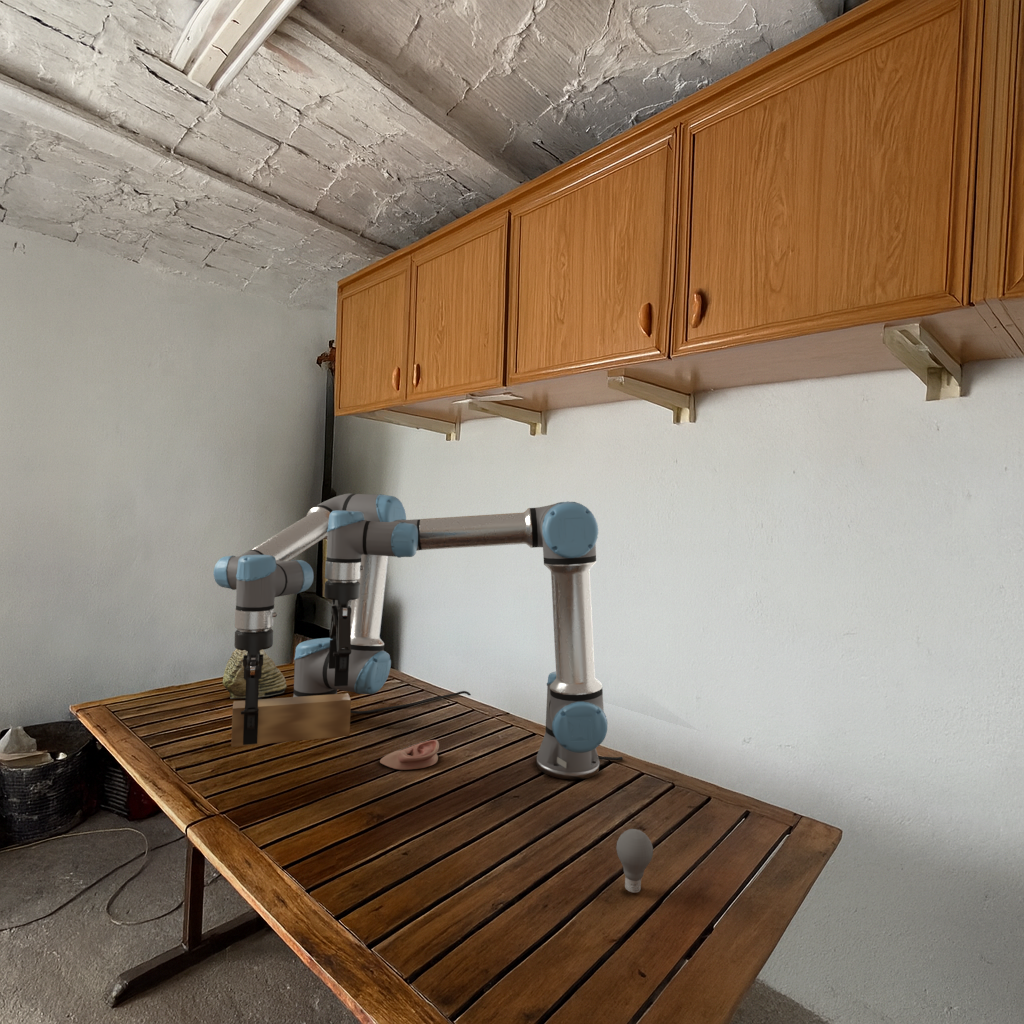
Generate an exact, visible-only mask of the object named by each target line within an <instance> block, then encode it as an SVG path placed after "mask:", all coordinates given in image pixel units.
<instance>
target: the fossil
mask: <svg viewBox="0 0 1024 1024" xmlns="http://www.w3.org/2000/svg"><path fill="white" fill-rule="evenodd" d="M247 652H248V651H246V650H243V651H242V650H238V649H236V648H235V650H233V651H232V653H231V656H230V657H229V659H228V660H227V663H226V666H225V668H224V671H223V675H222V676H223V677H222V685H223V687H224V688H225V690H226V691H228V693H229V698H230V699H245V694H246V680H245V679H244V666H243V656H244V655H247ZM260 654H263V665H262V675H261V678H260V679H259V689H258V692H259V695H258V697H262V698H264V697H271V696H275V695H281V694H284V693H285V691H286V689H287V687H288V686H287V680H286V678H285V676H284V674H283V673H282V672H281V669H279V668H278V667H277V665H276V663H275V662H274V660H273V659H272V658H271V657H270V656H269V655H268V654H267V653H266V652H265V650H263V649H262V650H260Z"/></svg>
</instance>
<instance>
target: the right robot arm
mask: <svg viewBox="0 0 1024 1024" xmlns="http://www.w3.org/2000/svg"><path fill="white" fill-rule="evenodd" d="M598 535H599V525H598V521H597V519H596V517H595V515H594V514H593V512H592V511H591V510H590V509H589V508H588V507H587V506H585V505H584V504H582V503H580V502H576V501H560V502H556V503H553V504H549V505H544V506H543V505H542V506H537V507H528V508H527V509H526V510H525V511H524V512H511V513H495V514H479V515H478V514H477V515H462V516H447V517H431V518H420V519H419V518H418V519H417V518H414V519H406V520H404V519H403V520H395V521H393V522H372V521H367V520H365V518H364V514H363V513H362V512H359V511H345V510H335V511H332V512H331V513H330V515H329V523H328V530H327V539H326V560H325V568H324V569H325V570H324V572H325V573H324V579H326V581H325V582H324V591H323V592H324V593H323V594H324V595H323V596H324V598H325V599H327V600H331V602H332V605H331V606H330V613H331V614H330V624H329V625H330V626H329V631H328V633H329V638H330V639H332V640H330V648H329V667H328V668H329V669H335V679H334V686H348V671H349V654H351V605H349V602H350V601H352V600H356V599H358V598H359V595H360V583H359V582H358V581H357V580H359V579H360V570H363V568H364V567H363V566H360V565H361V557H362V554H363V555H380V556H389V557H394V558H412V557H414V556H415V555H416V553H417V551H418V552H419V551H427V550H445V549H447V550H448V549H461V548H463V549H464V548H480V547H496V546H498V547H499V546H513V545H527V546H528V547H529V548H531V549H532V548H542V555H543V556H542V557H543V565H544V566H545V568H546V569H548V570H549V571H550V577H551V579H550V581H551V599H552V618H553V635H554V636H553V640H554V642H553V643H554V659H555V660H554V661H555V662H554V663H555V671H552V672H550V673H549V674H548V676H547V682H546V686H547V687H546V688H547V689H546V690H547V692H546V709H545V730H544V731H545V732H544V736H543V737H542V740H541V744H540V746H539V748H538V752H537V754H536V767H537V768H538V770H539V771H540V772H541V773H543V774H545V775H547V776H550V777H553V778H557V779H563V780H585V779H589V778H592V777H594V776H596V775H597V774H598V773H599V772H600V760H603V761H623V759H624V758H623V757H622V756H617V757H615V756H602V755H600V756H599V753H598V750H597V748H598V747H599V746H600V745H601V744H602V743H603V742H604V740H605V739H606V736H607V735H608V734H607V733H608V718H607V715H606V713H605V711H604V691H603V684H602V682H601V681H600V680H599V679H597V678H596V669H595V668H596V667H595V650H594V649H595V647H594V627H593V625H594V624H593V609H592V607H593V606H592V605H593V604H592V588H591V587H592V585H591V584H592V583H591V569H593V566H594V565H595V564H597V547H596V546H597V545H596V544H597V541H598V538H599V537H598ZM342 648H346V649H342Z"/></svg>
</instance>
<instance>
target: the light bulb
mask: <svg viewBox="0 0 1024 1024" xmlns="http://www.w3.org/2000/svg"><path fill="white" fill-rule="evenodd" d="M615 849H616V854H617V857H618V859H619V861H620V863H621V865H622V867H623V873H624V874H623V875H624V876H625V878H624V888H625V890H627V891H628V892H630V893H634V894H635V893H639V892H640V891H641V889H642V887H641V886H642V879H643V877H644V875H645V871H646V868H647V867H648V866H649V864H650V863H651V861H652V859H653V855H654V847H653V843H652V841H651V838H649V836H648V835H647V834H646V833H645V832H643V831H642V830H641V829H636V828H629V829H627V830H625V831H623V832H622V833H621V834H620V835H619V837H618V839H617V841H616V847H615Z"/></svg>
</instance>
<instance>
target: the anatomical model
mask: <svg viewBox="0 0 1024 1024" xmlns="http://www.w3.org/2000/svg"><path fill="white" fill-rule="evenodd" d="M439 748H440V743H439V741H438V740H437V739H431V740H430V739H429V740H426V741H423V742H419V743H416V744H414V745H412V746H409V747H406V748H403V749H400V750H399V749H398V750H395V751H392V752H390V753H388V754H386V755H384V756H383V757H382V758H380V760H379V763H380V764H382V765H384V766H385V767H388V768H390V769H394V770H399V771H400V770H401V771H403V770H404V771H405V770H419V769H424V768H428V767H431V766H433V765H435V764H437V763H438V760H439V756H438V754H437V753H438V752H439Z"/></svg>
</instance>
